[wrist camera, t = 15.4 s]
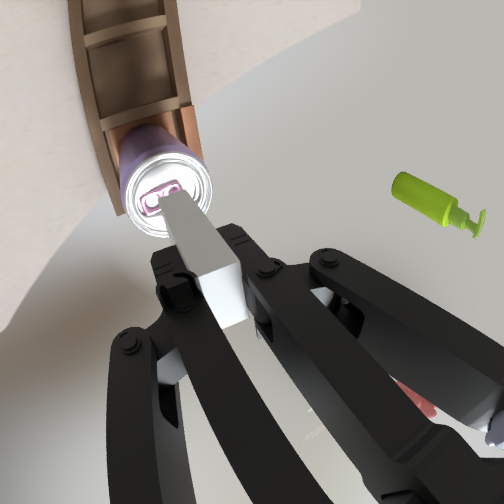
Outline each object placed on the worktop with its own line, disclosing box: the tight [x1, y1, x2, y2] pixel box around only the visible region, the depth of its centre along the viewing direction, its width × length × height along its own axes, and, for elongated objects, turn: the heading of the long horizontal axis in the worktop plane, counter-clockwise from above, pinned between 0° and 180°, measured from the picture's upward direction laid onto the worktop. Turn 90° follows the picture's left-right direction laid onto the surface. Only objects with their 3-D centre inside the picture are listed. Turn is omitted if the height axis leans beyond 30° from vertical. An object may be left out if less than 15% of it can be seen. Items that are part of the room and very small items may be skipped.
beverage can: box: [119, 123, 213, 237], centre depth 22 cm, size 6×6×15 cm
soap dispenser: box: [392, 172, 486, 239], centre depth 44 cm, size 6×7×20 cm
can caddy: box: [68, 0, 204, 216], centre depth 21 cm, size 10×28×4 cm, turn 7°
